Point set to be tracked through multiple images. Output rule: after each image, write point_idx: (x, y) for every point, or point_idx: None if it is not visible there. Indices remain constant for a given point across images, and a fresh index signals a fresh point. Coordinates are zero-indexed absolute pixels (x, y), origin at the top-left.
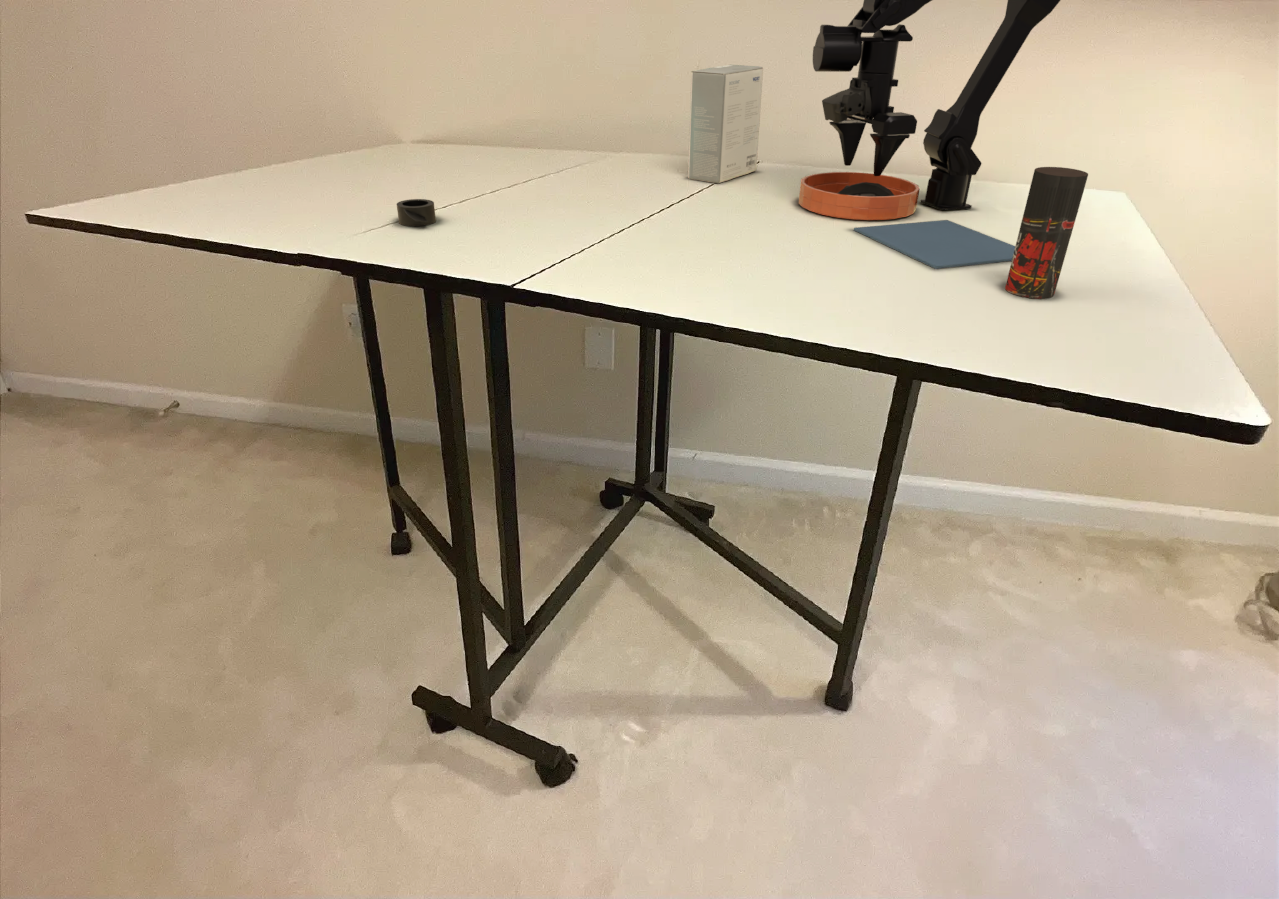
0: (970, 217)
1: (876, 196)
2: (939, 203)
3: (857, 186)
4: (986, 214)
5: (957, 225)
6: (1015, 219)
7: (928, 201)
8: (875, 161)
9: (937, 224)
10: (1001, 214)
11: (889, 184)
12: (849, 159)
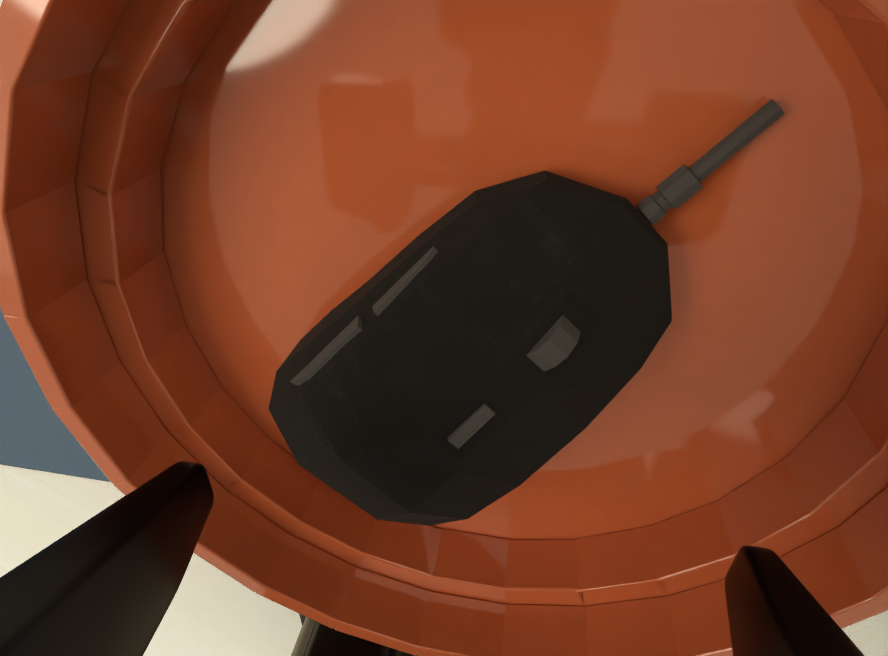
0: (204, 573)
1: (7, 260)
2: None
3: (447, 381)
4: (242, 626)
5: (30, 458)
6: (175, 636)
7: None
8: (56, 566)
9: (35, 408)
10: (238, 649)
11: (582, 619)
12: (749, 629)
